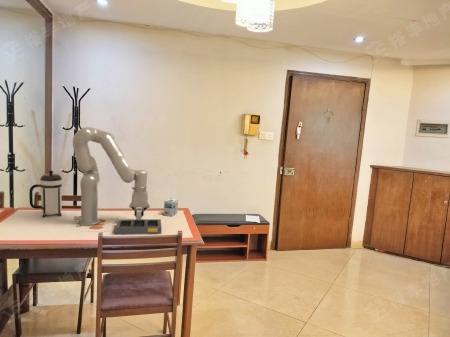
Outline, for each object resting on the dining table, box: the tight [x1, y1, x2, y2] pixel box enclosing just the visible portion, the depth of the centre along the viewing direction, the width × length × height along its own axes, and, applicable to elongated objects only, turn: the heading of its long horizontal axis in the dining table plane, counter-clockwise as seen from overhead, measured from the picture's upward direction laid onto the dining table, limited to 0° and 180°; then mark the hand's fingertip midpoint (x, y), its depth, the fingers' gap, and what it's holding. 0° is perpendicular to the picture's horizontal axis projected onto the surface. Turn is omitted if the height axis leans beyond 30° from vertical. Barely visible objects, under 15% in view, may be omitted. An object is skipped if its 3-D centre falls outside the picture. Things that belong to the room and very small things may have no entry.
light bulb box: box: [163, 197, 179, 217], centre depth 236 cm, size 11×7×11 cm, turn 168°
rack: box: [115, 218, 162, 236], centre depth 200 cm, size 26×16×4 cm, turn 103°
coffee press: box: [28, 170, 65, 218], centre depth 217 cm, size 17×16×30 cm
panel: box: [135, 207, 142, 220], centre depth 214 cm, size 3×10×7 cm, turn 13°
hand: (138, 216), depth 214 cm, fingers closed on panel, 3 cm apart
